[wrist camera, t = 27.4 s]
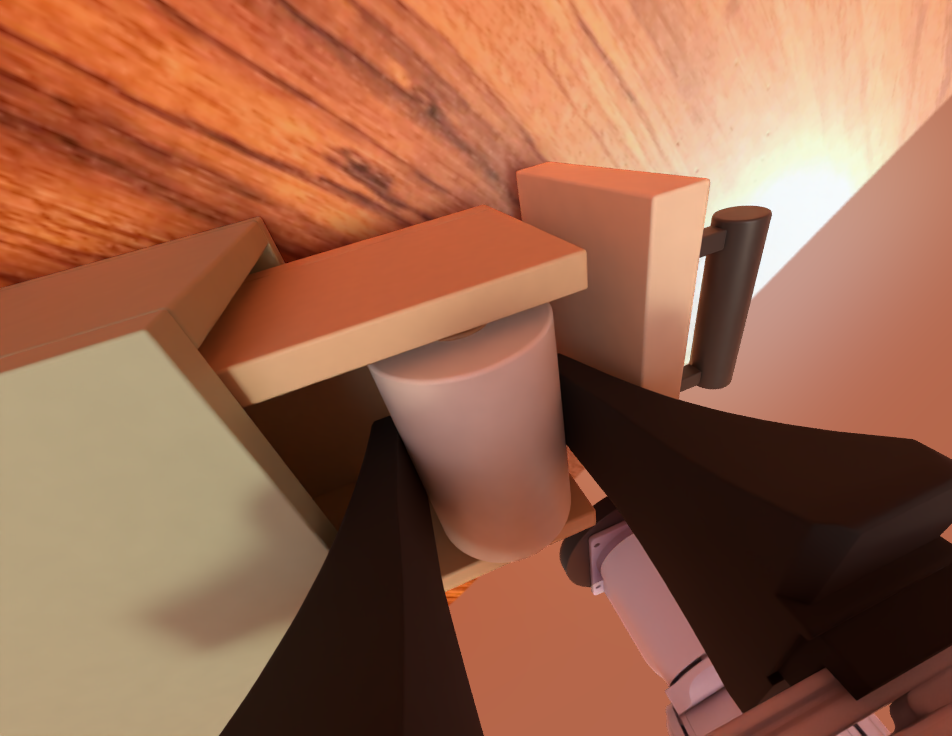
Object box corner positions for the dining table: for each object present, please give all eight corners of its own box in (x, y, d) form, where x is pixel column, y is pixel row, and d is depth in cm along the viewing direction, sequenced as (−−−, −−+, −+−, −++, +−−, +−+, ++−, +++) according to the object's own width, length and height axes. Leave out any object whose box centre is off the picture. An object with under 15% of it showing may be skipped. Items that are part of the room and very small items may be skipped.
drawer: (678, 123, 12) (917, 112, 7) (656, 369, 18) (779, 458, 13) (129, 282, 10) (-90, 432, 5) (307, 505, 16) (293, 678, 11)
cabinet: (261, 215, 11) (144, 329, 4) (392, 468, 17) (424, 663, 11) (-305, 372, 9) (-1981, 982, 2) (82, 588, 15) (-102, 911, 9)
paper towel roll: (333, 333, 9) (471, 265, 10) (417, 501, 12) (508, 431, 14) (423, 411, 6) (595, 298, 7) (498, 600, 10) (600, 497, 11)
